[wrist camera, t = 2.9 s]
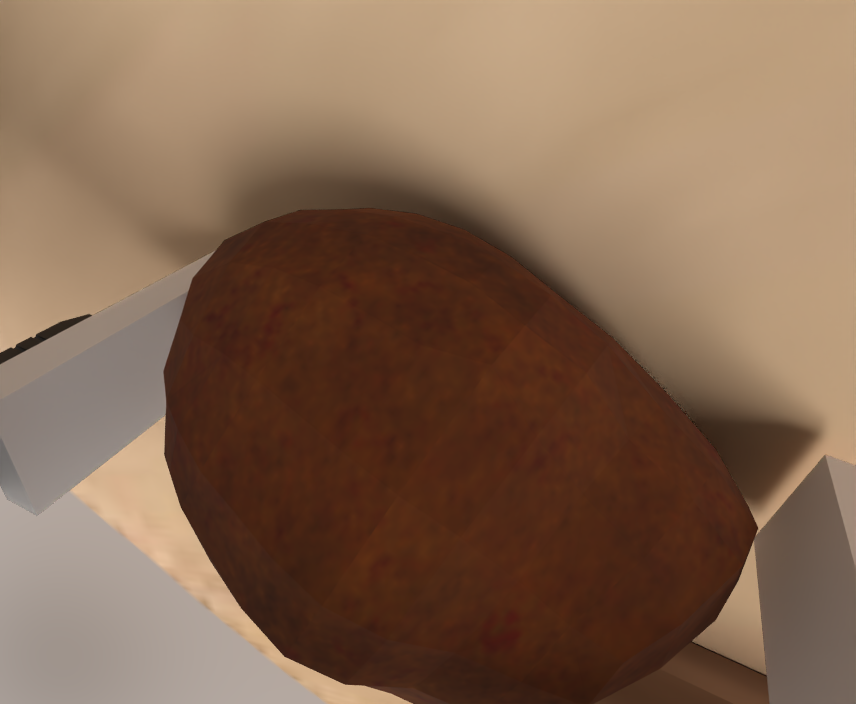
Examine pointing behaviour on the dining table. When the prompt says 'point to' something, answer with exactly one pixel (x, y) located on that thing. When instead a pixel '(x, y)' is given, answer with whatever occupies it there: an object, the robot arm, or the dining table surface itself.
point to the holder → (696, 682)
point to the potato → (439, 467)
